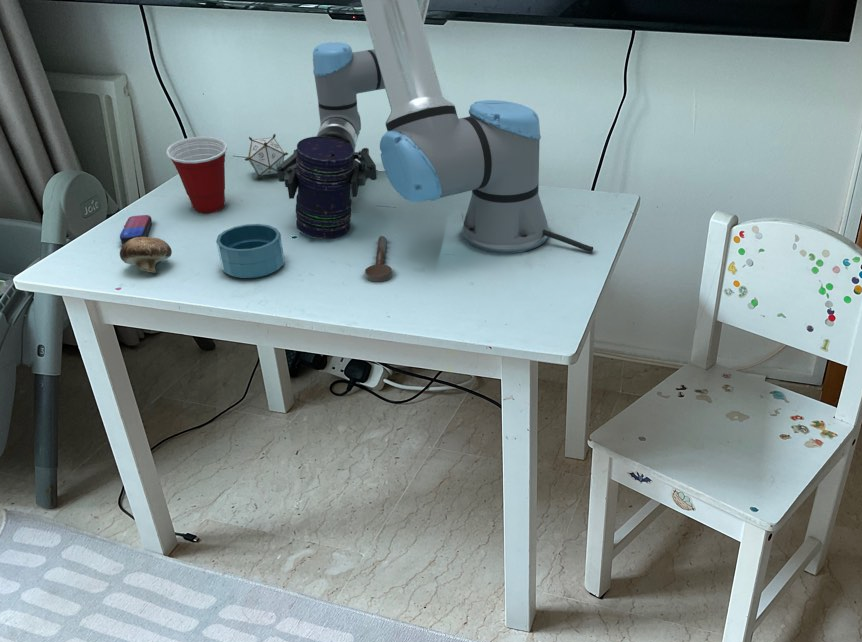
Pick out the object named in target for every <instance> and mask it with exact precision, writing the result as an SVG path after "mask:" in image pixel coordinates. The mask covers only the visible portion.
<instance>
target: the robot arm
mask: <svg viewBox="0 0 862 642" xmlns="http://www.w3.org/2000/svg"><path fill="white" fill-rule="evenodd" d="M360 2H361V6H362V10H363V13H364V17H365V21H366V24H367V29H368V31H369V35H370V39H371V42H372V46H373V48H372V49H367V50H366V49H365V50H360V51H353V49H352V47H351V45H350V44H348V43H346V42H341V41H335V42H331V41H330V42H329V41H328V42H324V43H320V44H318V45H316V46H315V47H314V49H313V50H312V66H313V69H312V71H313V72H312V73H313V75H314V83H315V89H316V96H317V103H318V104H317V105H318V107H317V108H318V115H319V120H320V121H319V122H320V123H319V124H320V126H319V128H318V130H317V133H316V136H324V137H332V138H337V139H340V140H343V141H345V142H347V143H349V144H350V145H351V146H352V147H353V149H354V157H353V158H354V162H353V163H354V171H353V175H352V179H351V195H352V198H358V193H359V189H360V187H364V186H366V182H367V181H368V179H369V180H371V181H376V180H377V179H378V175H377V165H376V164H375V161H374V160H373V158H372V157H371V155H370V149H369V148H368V147H363V148H361V150H358V151H355V150H356V146H357V143H358V138H359V135H360V131H361V129H362V122H361V115H360V112H359V111H358V99H357V97H358V96H357V95H359V94H363V93H368V92H374V91H380V90H385V93H386V96H387V100H388V104H389V107H390V114H389V115H388V117H387V119H386V121H385V128H386V131H385V133H384V134H383V135H382V136H381V138H380V140H379V150H380V152H381V153H380V159H381V164H382V167H383V171H385V174H386V177H387V179H388V181H389V183H390V184H391V186H392V187H393V189H394V190H395V192H396V193H397V194H399V196H400V197H402V198H403V199H404V200H406V201H408V202H409V203H410V202H411V203H422V202H427V201H436V200H439V199H442V198H445V197H449V196H454V195H458V194H462V193H467V192H471V196H470V200H469V204H468V207H467V210H466V213H465V216H464V217H463V214H461V220H462V238H463V239H464V241H465V242H466V243H467V244H468V245H469V246H470V247H473V248H475V249H477V250H480V251H483V252H487V253H493V254H515V253H522V252H526V251H531V250H534V249H537V248H538V247H540V246H542V245H543V244H544V243H545V242H546V241H547V239H548V238H550V239H554V240H556V241H558V242H562V243H564V244H567V245H570V246H572V247H574V248H577V249H580V250H583V251H586V252H588V253H593V251H594V246H590V245H588V244H585V243H582V242H580V241H577V240H574V239H572V238H570V237H567V236H563V235H562V234H559V233H555V232H552V231H549V225H548V220H547V216H546V214H545V213H546V212H545V211H544V208H543V203H542V201H541V197H540V195H539V184H540V140H541V138H542V136H541V128H540V118H539V115H538V114H537V112H536V111H535V110H534V109H532V108H531V107H529V106H527V105H524V104H521V103H517V102H512V101H506V100H497V99H496V100H495V99H494V100H493V99H485V100H478V101H474V103H471V105H469V109H468V114H469V116H466V117H460V118H459V116H458V112H457V109H456V105H455V104H454V103H453V102H452V101H449V100H448V99H446V98H445V97H444V96H443V94H442V93H443V92H442V89H441V85H440V82H439V78H438V74H437V70H436V67H435V64H434V59H433V56H432V52H431V48H430V44H429V41H428V36H427V33H426V30H425V26H424V25H425V21H426V17H427V13H428V9H429V4H430V0H360ZM296 159H297V148H296V149H294V150H293V153H292V154H291V155H289V156H288V158H286V159H284V161H283V163H281V164H280V165H279V166H278V167H277V180H278V182H279V183H283V182H284V187H285V188H287V192H288V198H289V200H290V199H292V200H293V199H295V197H296V194H297V192H298V179H297V174H296V170H297V168H296Z"/></svg>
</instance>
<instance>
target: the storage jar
mask: <svg viewBox="0 0 862 642" xmlns="http://www.w3.org/2000/svg"><path fill="white" fill-rule="evenodd" d="M296 149H297V159H296V168H297V170H296V174H297V179H298V188H297V193H296V196H295V197H296V199H295V200H296V201H295V217H296V221H295V225H296V228H297V230H298V231H299V232H300V233H301V234H303V235H304V236H308V237H309V238H312V239H318V240H334V239H340V238H342V237H345V236H346V235H347V234H348V233H349V232H350V230H351V219H352V213H353V211H352V210H353V209H352V202H353V201H352V198H351V195H352V188H351V179H352V175H353V171H354V163H353V162H354V158H353V157H354V149H353V147H352V146H351V145H350V144H349V143H347V142H345V141H343V140H340V139H337V138H332V137H324V136H317V135H315V136H309V137H305V138H303V139H301V140H299V141H298V142H297V144H296Z"/></svg>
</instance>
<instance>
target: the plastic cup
mask: <svg viewBox="0 0 862 642" xmlns="http://www.w3.org/2000/svg"><path fill="white" fill-rule="evenodd" d="M227 150H228V145H227V143H226V141H224V140H222V139H221V138H218V137H213V136H193V137H187V138H183V139H180V140H177V141H175V142H174V143H171V144H170V145H169V146H168V147H167V149H166V151H165V152H166V155H167V157H168V159H170V160H171V162H172V163H173V165H174V167H175V169H176V170H177V173H178V175H179V178H180V179H181V183H182V185H183V187H184V190H185V193H186V195H187V196H188V199H189V201H190V204H191V206H192V208H193V210H194V212H197V213H200V214H211V213H212V214H213V213H216V212H219V211H221V210H223V209H224V207H225V205H226V204H225V203H226V193H225V190H226V172H225V164H226V154H227V153H226V152H227Z"/></svg>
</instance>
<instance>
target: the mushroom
mask: <svg viewBox="0 0 862 642" xmlns="http://www.w3.org/2000/svg"><path fill="white" fill-rule="evenodd" d="M172 253H173V251H172V247H171V246H170V245H169V244H168V242H167V241H165V240H164V239H161V238H159V237H151V236H147V237H137V238H133V239H130V240H129V241H127V242H126V243H125V244H124V245H123V244H122V245H121V248H120V250H119V258H120V260H121V261H122V262H123V263H125V264H126V265H133V266H137V269H138V270H139V271H143V272H147V273H151V274H154V273H155V274H156V272H157V271H156V265H157V263H159V262H162V261H166V260H168V259H169V258H171V256H172Z"/></svg>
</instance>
